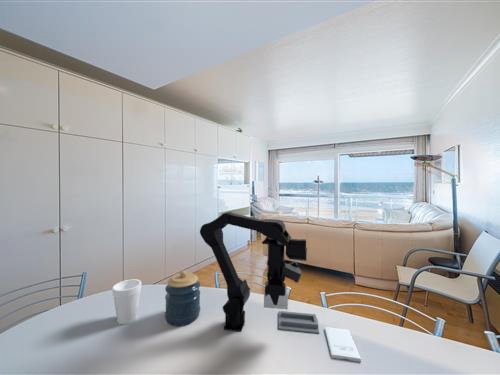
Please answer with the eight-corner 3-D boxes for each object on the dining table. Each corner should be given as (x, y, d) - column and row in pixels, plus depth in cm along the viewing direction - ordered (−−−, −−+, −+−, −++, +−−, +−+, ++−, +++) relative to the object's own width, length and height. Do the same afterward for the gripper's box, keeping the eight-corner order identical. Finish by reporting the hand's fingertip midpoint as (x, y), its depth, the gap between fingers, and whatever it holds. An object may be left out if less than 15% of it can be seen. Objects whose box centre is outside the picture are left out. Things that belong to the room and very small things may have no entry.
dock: (278, 329, 74) (278, 324, 74) (278, 312, 84) (278, 308, 84) (319, 333, 72) (319, 328, 72) (315, 315, 82) (315, 311, 82)
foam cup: (106, 323, 77) (106, 287, 77) (129, 309, 85) (129, 277, 85) (124, 329, 73) (124, 292, 73) (146, 314, 82) (146, 281, 82)
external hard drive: (349, 334, 73) (361, 363, 60) (324, 331, 74) (331, 359, 62) (349, 329, 73) (361, 358, 60) (324, 326, 74) (331, 353, 62)
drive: (263, 307, 71) (263, 292, 71) (264, 303, 73) (264, 289, 73) (287, 309, 70) (287, 294, 70) (287, 305, 72) (287, 291, 72)
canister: (157, 321, 77) (157, 274, 77) (180, 303, 90) (180, 262, 89) (186, 330, 73) (186, 280, 73) (206, 310, 85) (206, 267, 85)
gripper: (302, 269, 61) (302, 322, 61) (297, 250, 79) (297, 291, 80) (264, 267, 63) (264, 318, 63) (268, 248, 81) (268, 288, 81)
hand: (275, 302), depth 71 cm, fingers closed on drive, 2 cm apart
